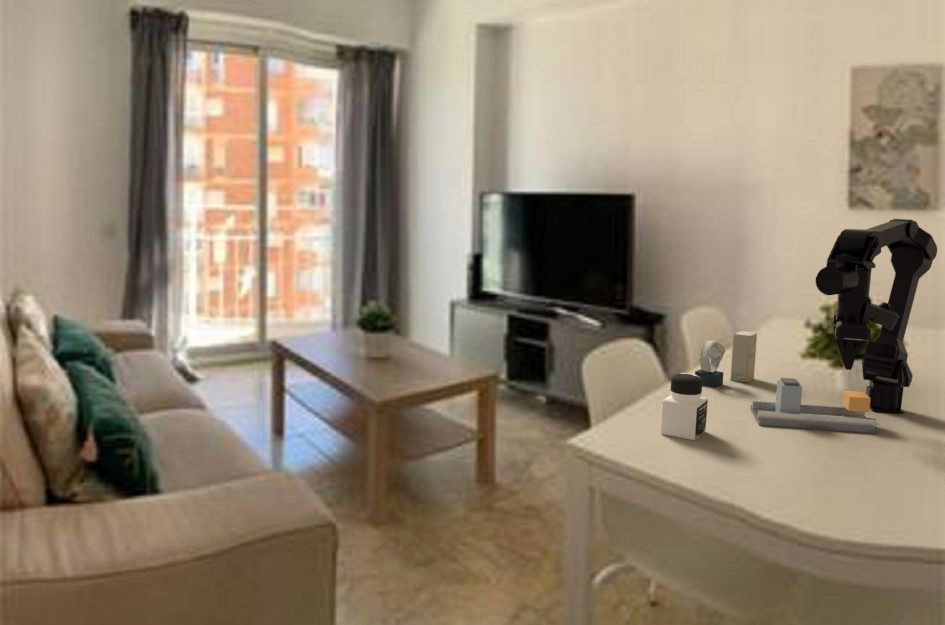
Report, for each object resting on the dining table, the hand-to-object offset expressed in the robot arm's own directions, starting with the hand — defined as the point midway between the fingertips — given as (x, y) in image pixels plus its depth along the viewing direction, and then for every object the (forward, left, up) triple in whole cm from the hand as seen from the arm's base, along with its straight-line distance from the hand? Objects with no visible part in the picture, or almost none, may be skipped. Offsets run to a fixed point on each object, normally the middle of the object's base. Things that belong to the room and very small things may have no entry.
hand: (847, 364), depth 166 cm
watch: (+25, -27, -13) cm, 39 cm away
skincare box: (+16, -34, -13) cm, 39 cm away
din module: (+11, 0, -12) cm, 16 cm away
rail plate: (+6, 0, -13) cm, 14 cm away
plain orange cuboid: (-2, 0, -9) cm, 9 cm away
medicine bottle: (+34, +15, -13) cm, 39 cm away
